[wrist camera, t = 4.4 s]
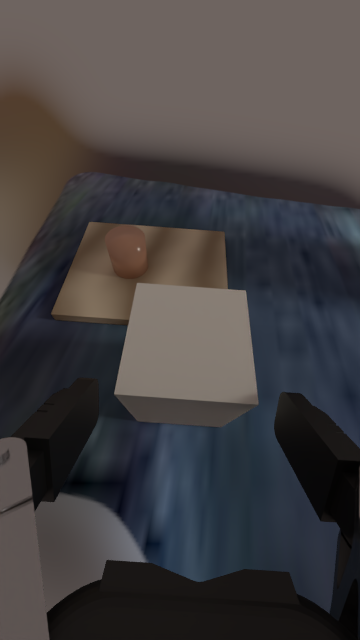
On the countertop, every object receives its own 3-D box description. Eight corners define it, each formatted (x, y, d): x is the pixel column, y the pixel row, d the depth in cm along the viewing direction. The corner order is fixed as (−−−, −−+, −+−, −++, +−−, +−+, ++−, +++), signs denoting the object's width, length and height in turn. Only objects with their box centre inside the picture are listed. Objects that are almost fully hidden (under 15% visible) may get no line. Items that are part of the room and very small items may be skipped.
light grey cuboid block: (218, 350, 20) (245, 290, 13) (220, 427, 17) (258, 404, 10) (148, 345, 20) (137, 282, 13) (137, 421, 17) (114, 394, 10)
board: (222, 238, 28) (224, 231, 27) (227, 332, 21) (230, 327, 20) (92, 229, 28) (89, 221, 27) (55, 320, 21) (50, 314, 20)
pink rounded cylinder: (150, 254, 25) (147, 226, 22) (145, 280, 23) (142, 253, 20) (116, 252, 25) (109, 223, 22) (109, 277, 23) (100, 250, 20)
